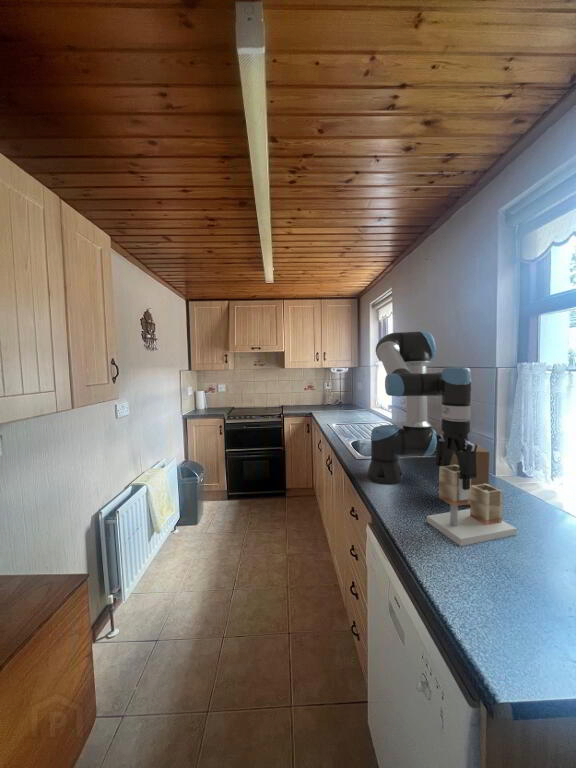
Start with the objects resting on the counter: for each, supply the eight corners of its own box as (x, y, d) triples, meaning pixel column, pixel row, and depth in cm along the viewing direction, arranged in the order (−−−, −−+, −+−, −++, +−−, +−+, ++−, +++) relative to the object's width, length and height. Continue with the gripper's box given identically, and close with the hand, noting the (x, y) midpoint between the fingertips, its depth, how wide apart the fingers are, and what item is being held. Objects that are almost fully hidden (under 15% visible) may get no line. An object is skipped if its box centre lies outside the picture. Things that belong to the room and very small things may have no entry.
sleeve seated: (470, 515, 101) (470, 485, 100) (485, 513, 103) (485, 483, 102) (486, 525, 95) (486, 493, 95) (501, 522, 97) (502, 490, 96)
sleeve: (438, 498, 98) (439, 466, 97) (455, 495, 99) (455, 464, 98) (453, 506, 92) (454, 473, 91) (470, 503, 93) (471, 470, 93)
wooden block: (488, 507, 111) (490, 451, 110) (457, 505, 113) (458, 450, 112) (477, 495, 121) (478, 444, 119) (449, 493, 123) (450, 443, 121)
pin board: (426, 521, 102) (427, 488, 101) (477, 513, 107) (478, 481, 106) (460, 546, 88) (461, 508, 88) (516, 534, 93) (517, 498, 93)
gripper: (423, 415, 102) (422, 484, 103) (471, 425, 84) (469, 510, 85) (443, 413, 104) (442, 482, 105) (493, 424, 85) (492, 506, 87)
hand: (454, 494), depth 95 cm, fingers closed on sleeve, 6 cm apart
